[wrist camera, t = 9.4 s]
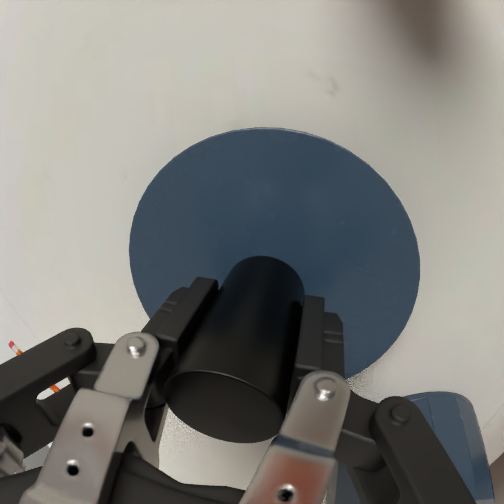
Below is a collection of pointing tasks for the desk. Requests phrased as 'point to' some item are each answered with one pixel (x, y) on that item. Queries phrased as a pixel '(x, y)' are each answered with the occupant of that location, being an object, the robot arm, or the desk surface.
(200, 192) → the lid
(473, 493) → the container
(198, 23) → the desk surface
